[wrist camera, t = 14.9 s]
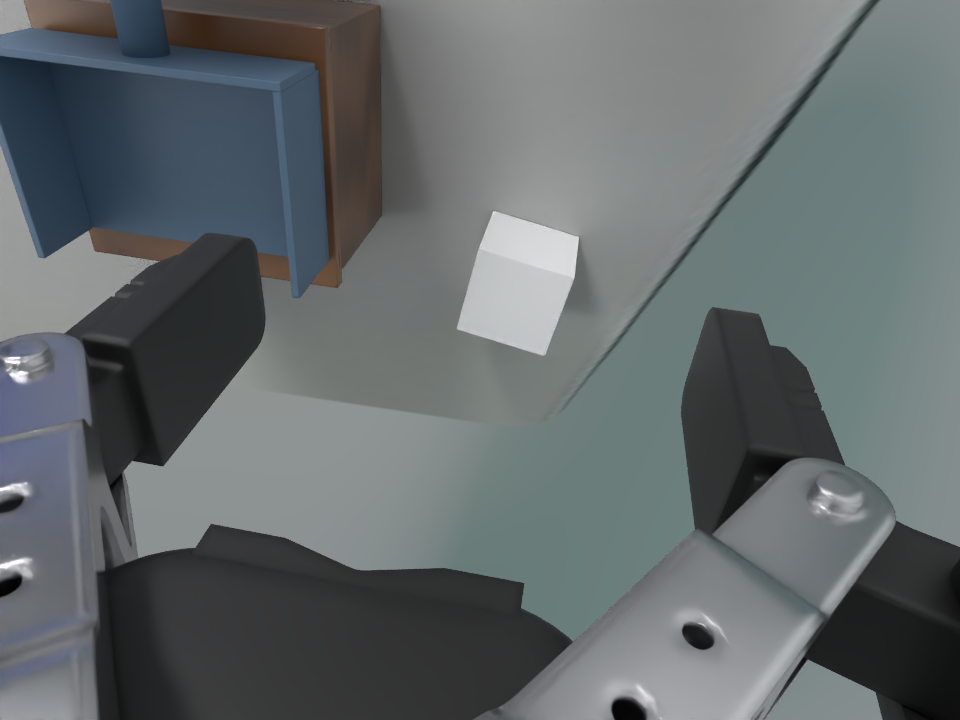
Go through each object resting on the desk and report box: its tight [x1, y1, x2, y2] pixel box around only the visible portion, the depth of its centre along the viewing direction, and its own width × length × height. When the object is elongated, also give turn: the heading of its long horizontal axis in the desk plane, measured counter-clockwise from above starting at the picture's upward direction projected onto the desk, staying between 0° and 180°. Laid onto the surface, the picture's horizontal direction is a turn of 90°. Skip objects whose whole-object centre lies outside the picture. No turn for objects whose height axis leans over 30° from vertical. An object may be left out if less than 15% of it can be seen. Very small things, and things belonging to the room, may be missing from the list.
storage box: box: [24, 0, 382, 288], centre depth 40 cm, size 15×15×10 cm
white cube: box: [457, 211, 579, 356], centre depth 44 cm, size 6×6×6 cm
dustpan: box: [0, 0, 329, 298], centre depth 31 cm, size 20×14×4 cm
